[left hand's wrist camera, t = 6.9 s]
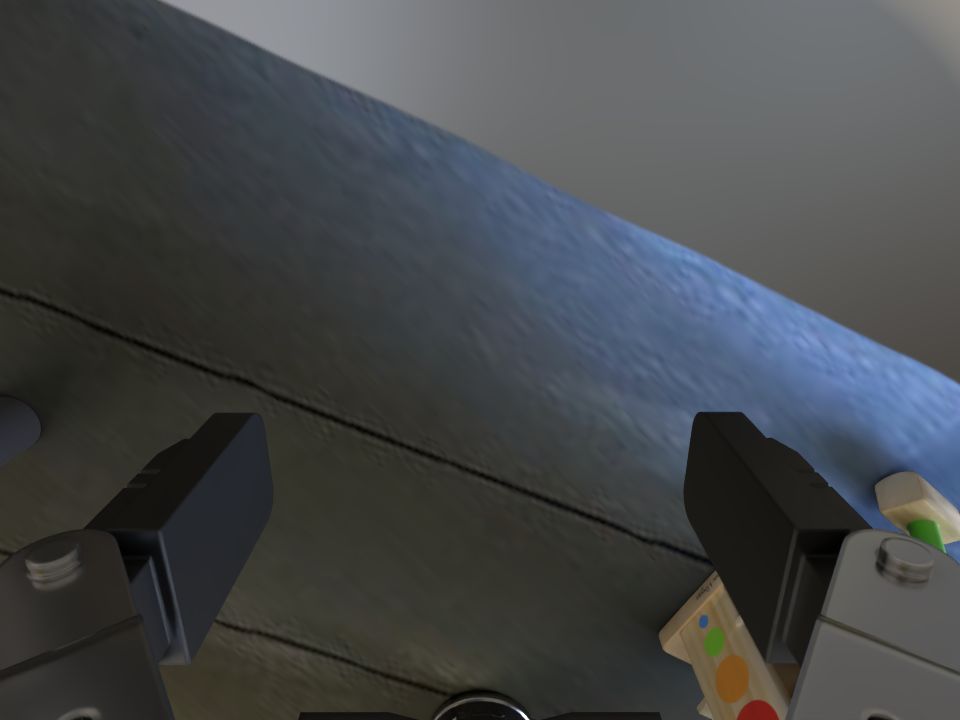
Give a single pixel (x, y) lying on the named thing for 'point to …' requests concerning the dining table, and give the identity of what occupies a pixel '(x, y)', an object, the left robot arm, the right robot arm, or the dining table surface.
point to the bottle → (16, 428)
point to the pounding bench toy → (728, 644)
